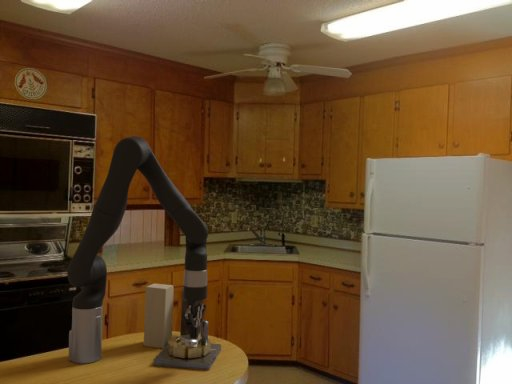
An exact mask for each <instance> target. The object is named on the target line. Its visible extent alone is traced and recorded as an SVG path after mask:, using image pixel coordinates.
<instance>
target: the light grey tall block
mask: <svg viewBox="0 0 512 384" xmlns="http://www.w3.org/2000/svg"><path fill="white" fill-rule="evenodd" d="M174 291H175V289H174V285H173V284H164V283H163V284H162V283H152V284H150V285H147V286H146V287H145V296H144V297H145V300H144V302H145V303H144V304H145V305H144V323H143V324H144V326H143V327H144V328H143V346H145V347H148V348H149V347H150V348H157V349H164V348H165V347H166V346H167V345H168V340H170V339H171V336H172V335H173V319H174V318H173V315H174V314H173V313H174V312H173V311H174Z"/></svg>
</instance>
